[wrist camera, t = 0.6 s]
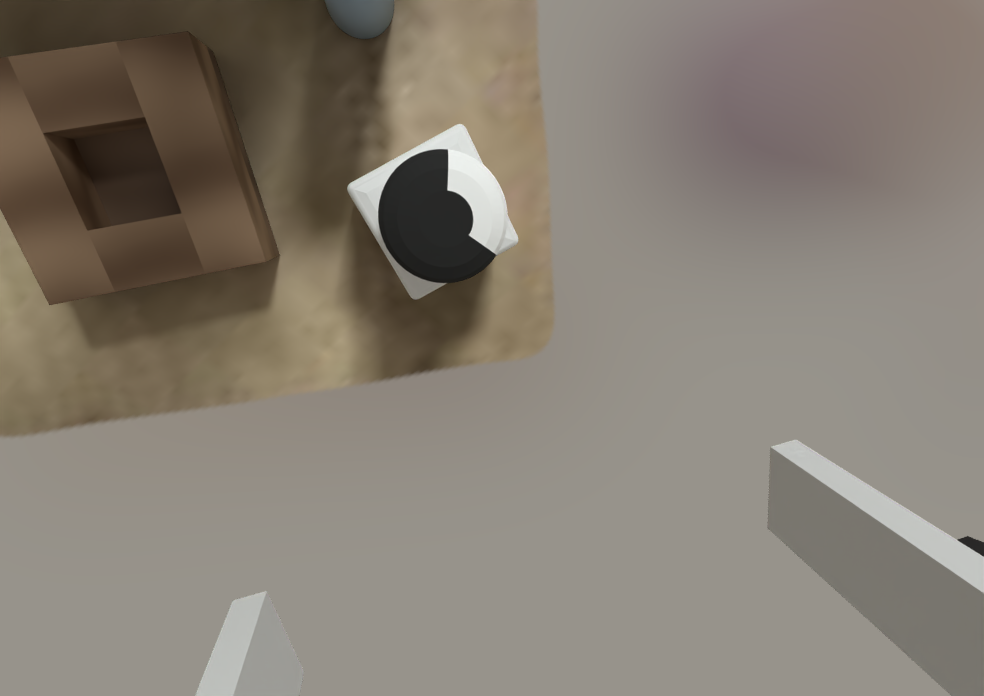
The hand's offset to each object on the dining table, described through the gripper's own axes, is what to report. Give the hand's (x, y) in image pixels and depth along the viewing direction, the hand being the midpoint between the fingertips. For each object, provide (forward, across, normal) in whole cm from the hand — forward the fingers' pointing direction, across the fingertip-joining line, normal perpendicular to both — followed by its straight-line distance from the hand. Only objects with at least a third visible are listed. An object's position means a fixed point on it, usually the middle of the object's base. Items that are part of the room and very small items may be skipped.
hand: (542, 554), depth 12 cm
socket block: (+25, -16, +13) cm, 32 cm away
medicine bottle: (+25, 0, +7) cm, 26 cm away
